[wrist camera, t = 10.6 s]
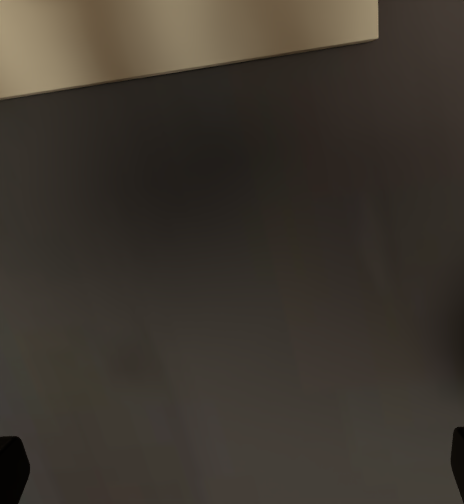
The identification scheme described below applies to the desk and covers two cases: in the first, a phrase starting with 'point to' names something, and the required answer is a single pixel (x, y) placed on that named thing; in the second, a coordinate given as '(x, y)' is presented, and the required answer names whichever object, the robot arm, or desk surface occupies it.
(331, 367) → the desk surface
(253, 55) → the base plate
